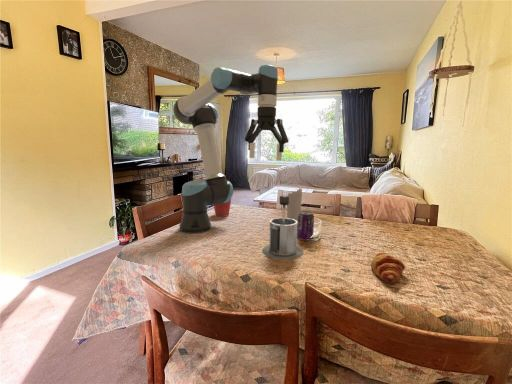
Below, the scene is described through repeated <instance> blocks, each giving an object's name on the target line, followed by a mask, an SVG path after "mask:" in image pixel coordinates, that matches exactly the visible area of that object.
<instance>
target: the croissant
mask: <svg viewBox="0 0 512 384" xmlns="http://www.w3.org/2000/svg"><path fill="white" fill-rule="evenodd" d="M370 267H371V268H372V270H373V273H374V274H375V275H376V276H378V277H379V278H380V279H381V280H382V281H384V282H385V283H388V284H389V283H392V284H393V283H396V282H398V281H399V279H400V278H401V277H402V275H403V272H404V270H405V268H406V266H405V264H404V262H403V261H402V260H401V259H400V258H397V257H395V256H393V255H391V254H388V253H385V252H379V253H377V254H375V256H374V257H373V258H372V260H371V262H370Z"/></svg>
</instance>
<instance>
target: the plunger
mask: <svg viewBox="0 0 512 384" xmlns="http://www.w3.org/2000/svg"><path fill="white" fill-rule="evenodd" d="M278 203H279V205H282V217H281V218H282V225H285V218H286V206H287V205H288V204H289V196H288V195H280V196H279V202H278Z"/></svg>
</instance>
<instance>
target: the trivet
mask: <svg viewBox="0 0 512 384" xmlns="http://www.w3.org/2000/svg"><path fill="white" fill-rule="evenodd" d="M296 249H297V253H296V254H295V255H293V256H288V257H281V256H275V255H273V254H271V253H270V252H269V245H266V246H263V248H262V250H261V251H262V254H263V255H264V256H266V257H268V258H271V259H274V260H280V261H281V260H282V261H283V260H284V261H286V260H287V261H288V260H290V261H291V260H295V259H299V258H300V257H302V256H303V255H304V251H303V250H304V249H301V248H300V247H298V246H297V248H296Z"/></svg>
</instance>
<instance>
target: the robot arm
mask: <svg viewBox="0 0 512 384" xmlns="http://www.w3.org/2000/svg"><path fill="white" fill-rule="evenodd" d="M278 75H279V74H278V68H277V67H276V66H275V65H273V64H272V65H271V64H262V65H261V66H259V68H258V73H252V74H250V73H245V72H242V71H238V70H234V69H230V68H227V67H221V66H220V67H215V68H214V69H213V70H212V72H211V74H210V79H208V80H207V81H205V82H204V83H203V84H201V85H200V86H199V87H197V88H196V89H194V90H193V91H192V92H190V93H189V94H187V95H186V96H184V95H183V96H181V97H179V98H178V99H177V100H176V101H175V102H174V104H173V107H172V111H173V116H174V117H175V119H176V120H177V121H178V122H180V123H182V124H184V125H192V129H193V131H194V132H196V134H197V139H198V144H199V150H200V154H201V160H202V164H203V168H204V169H203V170H204V173H205V178H204V180H202V179H200V180H199V179H197V180H190V181H188V182H185V183H184V184H183V185H182V186H181V187H182V189H181V196H182V197H181V198H182V215H181V221H180V223H179V232H182V233H187V234H199V233H205V232H208V231H210V230H211V229H212V223H211V221H210V218H209V215H208V207H210V206H214V205H216V204H223V203H226V202H228V201H230V199H231V200H232V197H233V195H234V187H233V184H232V183H231V181H229V180H227V177H226V175H225V174H223V171H222V166H221V165H222V164H221V160H220V156H219V151H218V146H217V142H216V137H215V132H214V131H215V130H214V129H215V128H216V124H217V123H218V118H219V115H218V110H217V108H216V107H215V105H213V104H212V103H211V102H212V101H214V100H215V99H217V98H218V97H220V96H222V95H224V94H225V93H227V92H228V91H233V92H239V94H241V95H252V94H257V105H258V108H257V119H255V118H251V120H250V126H249V128H248V130H247V133H246V135H245V137H244V141H245V142H247V144H248V146H247V147H248V151H249V159H255V153H256V152H255V148H256V145H255V144H256V142H255V141H256V139H257V137H258V136H259V135H260V134H261V132H263V131H270V132H271V134H273V136H274V138H275V139H276V141H277V142H278V143H277V144H276V161H277V162H278V161H282V158H283V157H282V156H283V155H282V154H283V152H284V151H285V150H284V149H285V145H286V143H287V144H288V143H289V138H288V136H287V134H286V130H285V128H284V125H283V119H282V118H276V116H277V108H276V106H277V101H278V100H277V98H278V97H277V96H278V95H277V93H278V92H277V91H278V81H279V80H278ZM275 125H276V126H275ZM276 127H277V128H276ZM277 129H278V130H277ZM278 131H279V132H278Z"/></svg>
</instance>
